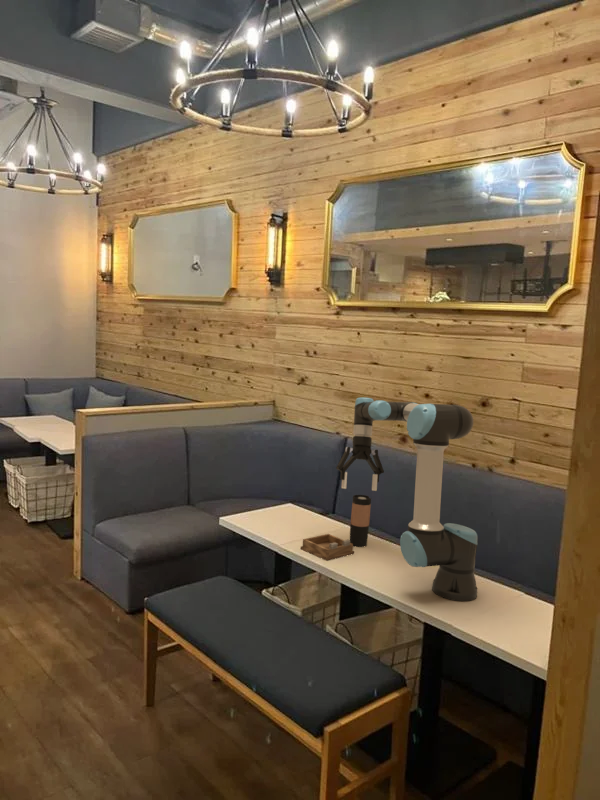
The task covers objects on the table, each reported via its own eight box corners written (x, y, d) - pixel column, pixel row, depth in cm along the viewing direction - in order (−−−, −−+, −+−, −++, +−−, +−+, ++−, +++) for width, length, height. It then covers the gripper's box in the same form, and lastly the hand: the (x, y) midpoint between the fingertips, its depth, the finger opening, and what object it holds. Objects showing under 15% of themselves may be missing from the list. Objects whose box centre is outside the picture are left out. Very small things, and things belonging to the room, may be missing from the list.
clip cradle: (354, 553, 247) (355, 539, 246) (326, 560, 237) (327, 546, 237) (327, 542, 258) (328, 529, 258) (300, 548, 248) (301, 534, 248)
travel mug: (345, 544, 257) (349, 497, 255) (353, 539, 264) (357, 493, 262) (363, 548, 254) (367, 500, 252) (370, 543, 261) (374, 496, 259)
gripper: (384, 439, 260) (381, 491, 257) (330, 433, 251) (326, 487, 248) (394, 438, 253) (391, 491, 250) (338, 433, 244) (334, 488, 241)
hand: (359, 489), depth 249 cm, fingers open, 13 cm apart
